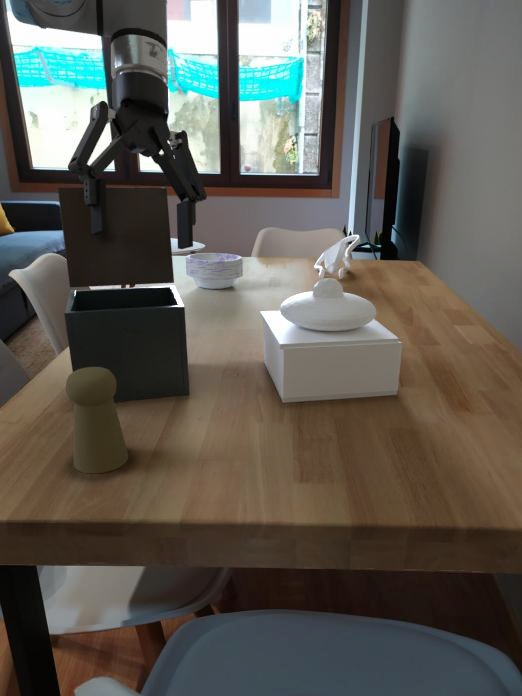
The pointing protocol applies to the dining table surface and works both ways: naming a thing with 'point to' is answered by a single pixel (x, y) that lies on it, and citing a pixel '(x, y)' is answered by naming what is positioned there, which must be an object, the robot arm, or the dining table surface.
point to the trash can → (131, 338)
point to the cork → (95, 421)
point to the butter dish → (329, 347)
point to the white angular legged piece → (337, 257)
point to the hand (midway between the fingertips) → (145, 241)
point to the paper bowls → (214, 269)
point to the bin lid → (118, 238)
